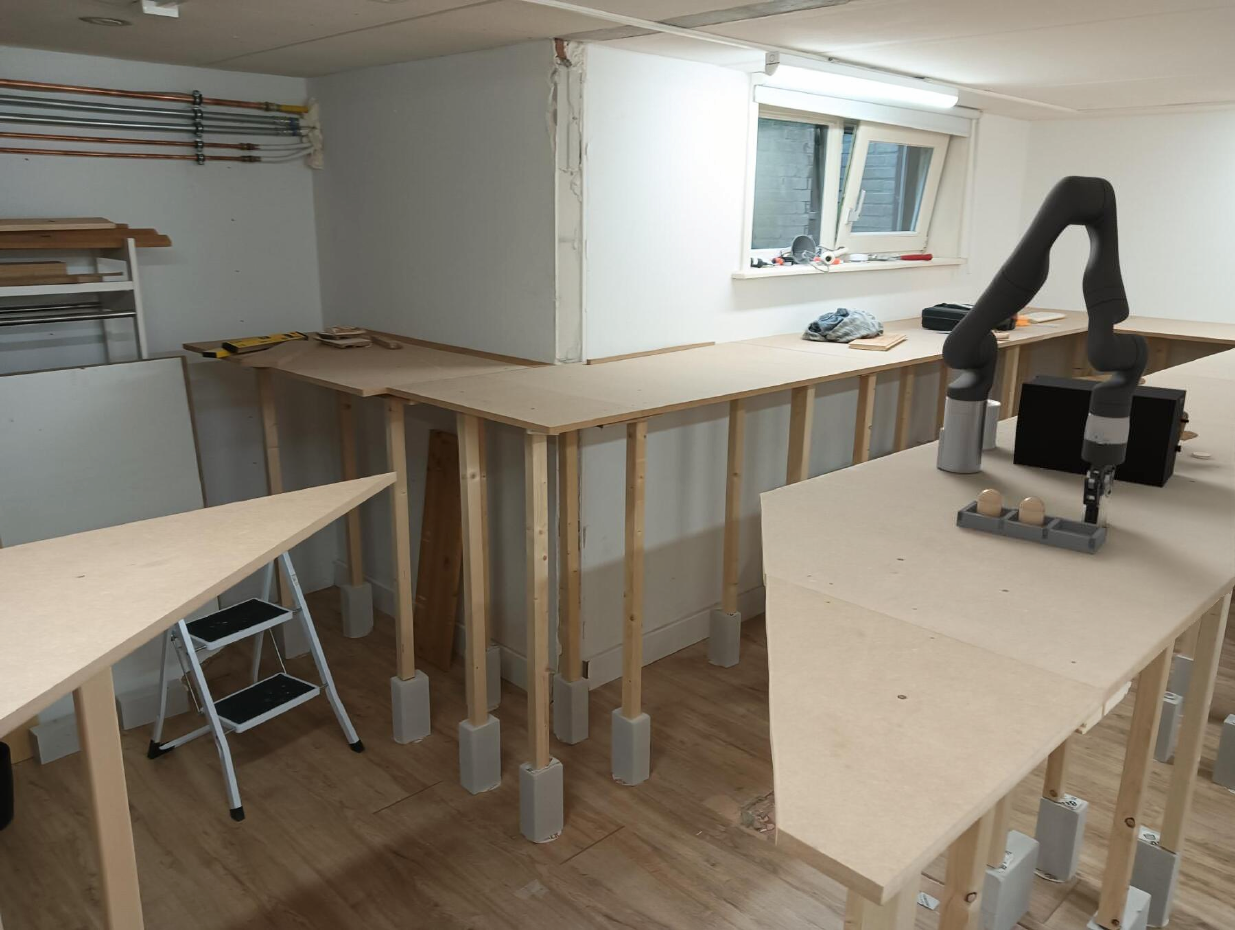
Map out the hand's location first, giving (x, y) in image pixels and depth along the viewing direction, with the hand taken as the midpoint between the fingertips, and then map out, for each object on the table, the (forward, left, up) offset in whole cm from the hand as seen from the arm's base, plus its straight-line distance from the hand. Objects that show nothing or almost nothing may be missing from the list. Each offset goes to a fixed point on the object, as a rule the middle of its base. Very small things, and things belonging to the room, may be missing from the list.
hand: (1093, 520), depth 187 cm
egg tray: (-8, -14, -1) cm, 16 cm away
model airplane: (-10, +67, -1) cm, 68 cm away
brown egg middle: (-8, -14, 0) cm, 16 cm away
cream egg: (0, 0, -1) cm, 1 cm away
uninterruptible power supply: (-10, +42, -1) cm, 43 cm away
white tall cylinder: (-40, +47, -1) cm, 62 cm away
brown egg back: (-16, -14, 0) cm, 21 cm away
